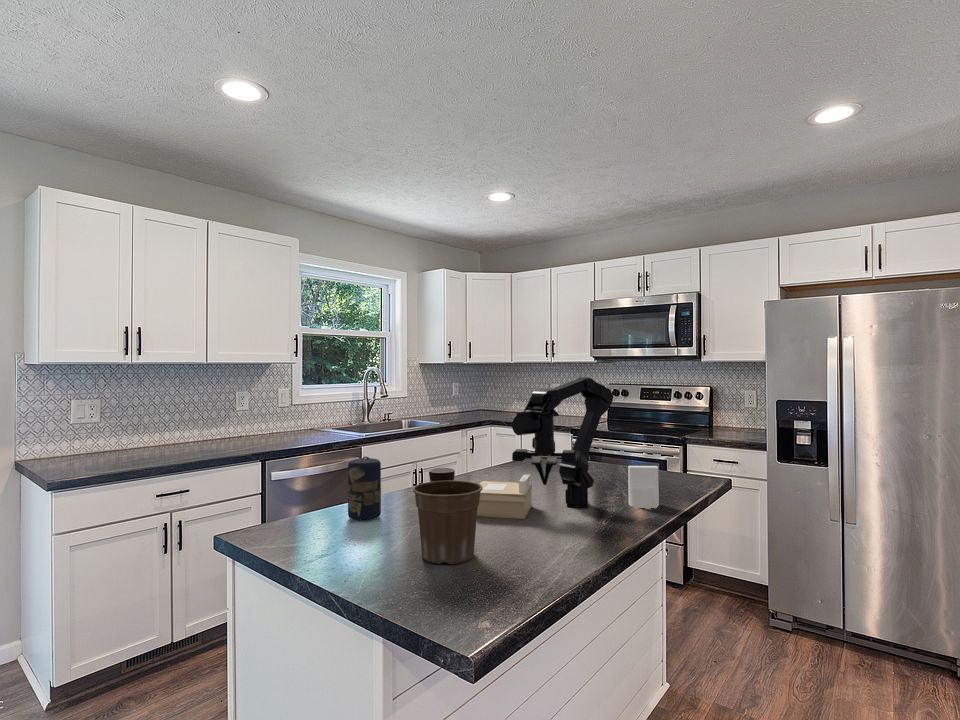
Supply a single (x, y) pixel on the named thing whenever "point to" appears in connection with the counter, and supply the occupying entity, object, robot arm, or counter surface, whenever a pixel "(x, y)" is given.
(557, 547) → the counter surface
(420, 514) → the plant pot
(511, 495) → the lid
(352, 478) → the canister
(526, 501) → the mailer box
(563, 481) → the robot arm
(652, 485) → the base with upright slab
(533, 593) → the counter surface
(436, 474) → the coffee mug
